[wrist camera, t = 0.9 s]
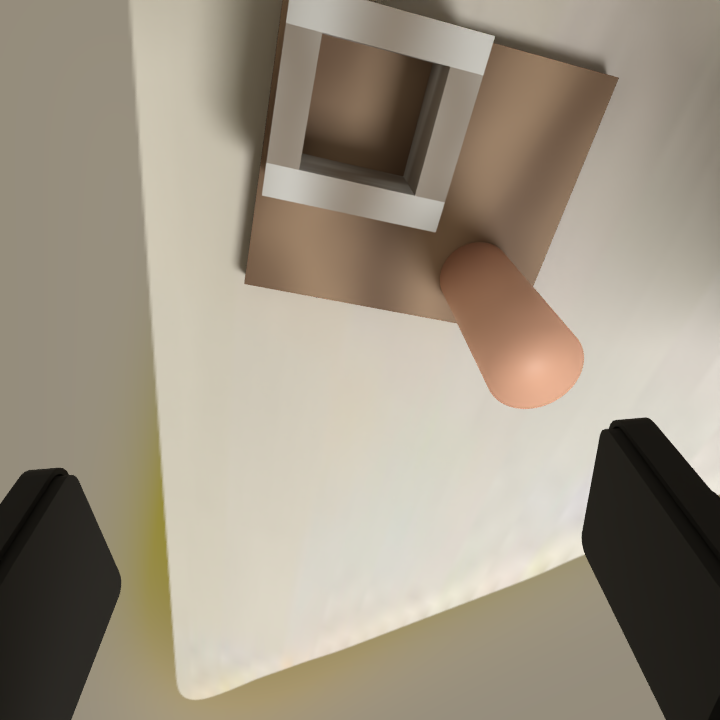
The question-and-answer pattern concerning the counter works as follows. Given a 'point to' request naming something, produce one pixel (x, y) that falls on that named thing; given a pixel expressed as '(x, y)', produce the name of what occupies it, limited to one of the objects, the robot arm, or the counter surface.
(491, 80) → the socket board
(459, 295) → the peg
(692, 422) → the counter surface
